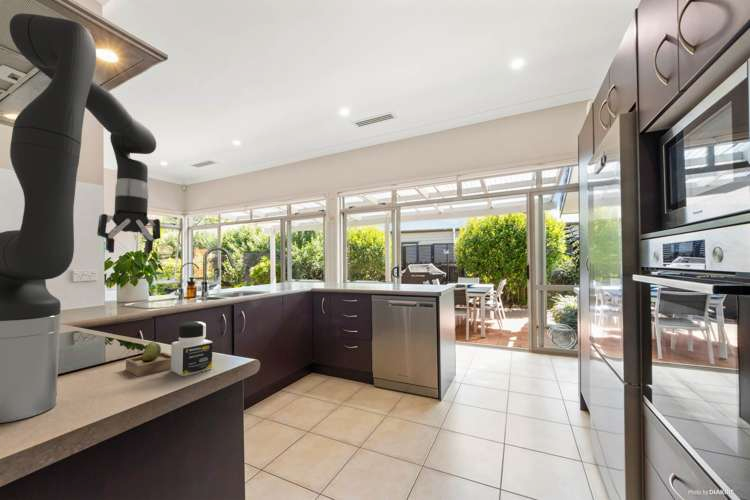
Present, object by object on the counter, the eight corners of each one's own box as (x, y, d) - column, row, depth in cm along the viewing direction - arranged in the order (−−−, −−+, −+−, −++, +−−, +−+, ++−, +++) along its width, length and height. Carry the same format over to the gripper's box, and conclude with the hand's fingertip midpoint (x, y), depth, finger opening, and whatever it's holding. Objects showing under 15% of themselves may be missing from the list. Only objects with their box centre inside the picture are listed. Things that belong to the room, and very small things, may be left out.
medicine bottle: (182, 376, 77) (183, 326, 77) (170, 370, 81) (171, 323, 81) (212, 369, 82) (213, 322, 83) (199, 363, 87) (200, 319, 87)
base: (137, 376, 77) (137, 365, 77) (125, 369, 82) (126, 359, 82) (176, 367, 83) (176, 357, 84) (163, 361, 89) (163, 351, 89)
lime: (142, 365, 79) (143, 345, 80) (137, 361, 83) (138, 341, 83) (163, 361, 83) (163, 341, 83) (158, 357, 86) (158, 338, 86)
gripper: (155, 202, 100) (153, 254, 99) (96, 194, 89) (94, 252, 88) (164, 199, 96) (163, 253, 95) (103, 190, 84) (101, 252, 84)
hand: (129, 253), depth 92 cm, fingers open, 8 cm apart
